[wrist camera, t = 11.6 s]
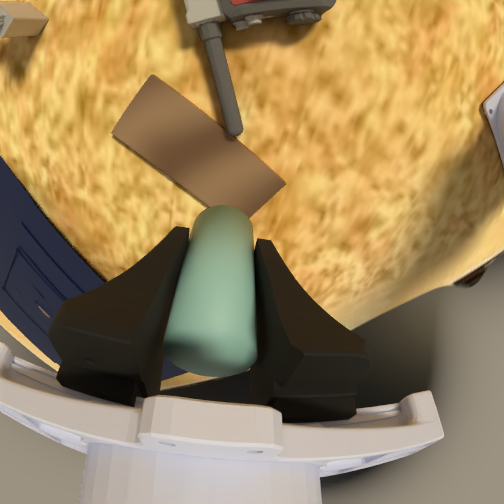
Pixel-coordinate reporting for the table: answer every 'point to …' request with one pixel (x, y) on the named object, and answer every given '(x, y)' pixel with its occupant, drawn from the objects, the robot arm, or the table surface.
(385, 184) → the table surface
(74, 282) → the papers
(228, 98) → the walkie-talkie
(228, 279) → the dowel
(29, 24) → the lighter
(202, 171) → the batten
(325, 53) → the table surface
